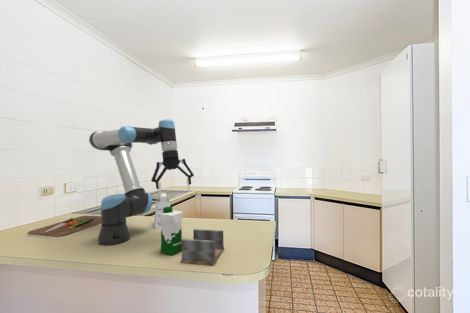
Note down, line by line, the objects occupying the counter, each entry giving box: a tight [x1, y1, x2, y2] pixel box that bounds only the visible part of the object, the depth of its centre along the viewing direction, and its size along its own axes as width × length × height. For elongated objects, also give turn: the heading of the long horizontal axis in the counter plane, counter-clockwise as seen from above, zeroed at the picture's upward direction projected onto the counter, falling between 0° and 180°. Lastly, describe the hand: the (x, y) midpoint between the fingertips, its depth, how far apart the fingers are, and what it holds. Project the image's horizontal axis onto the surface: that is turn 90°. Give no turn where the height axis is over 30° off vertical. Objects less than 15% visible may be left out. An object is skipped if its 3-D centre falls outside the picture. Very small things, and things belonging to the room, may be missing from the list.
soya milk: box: [159, 206, 184, 256], centre depth 112 cm, size 9×9×20 cm
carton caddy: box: [180, 228, 225, 267], centre depth 107 cm, size 14×17×9 cm
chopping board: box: [26, 215, 102, 239], centre depth 157 cm, size 45×27×3 cm, turn 166°
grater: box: [153, 192, 171, 230], centre depth 153 cm, size 10×10×20 cm
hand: (175, 193), depth 119 cm, fingers open, 13 cm apart
